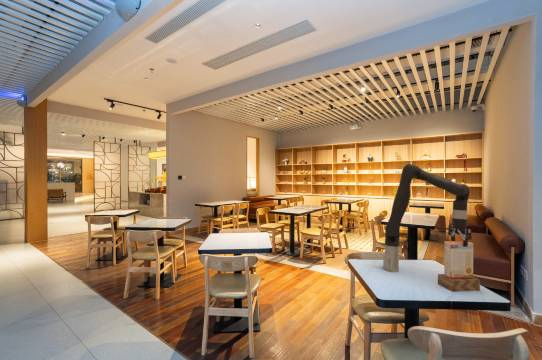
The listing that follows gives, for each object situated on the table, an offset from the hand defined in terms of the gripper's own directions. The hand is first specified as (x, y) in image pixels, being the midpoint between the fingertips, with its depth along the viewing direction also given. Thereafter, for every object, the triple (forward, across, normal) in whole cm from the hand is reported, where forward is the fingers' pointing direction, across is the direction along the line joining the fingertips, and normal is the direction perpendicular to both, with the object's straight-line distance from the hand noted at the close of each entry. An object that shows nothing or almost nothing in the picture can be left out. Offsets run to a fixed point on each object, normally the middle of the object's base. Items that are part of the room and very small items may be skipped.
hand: (459, 244), depth 162 cm
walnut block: (+25, 0, 0) cm, 25 cm away
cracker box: (+19, 0, 0) cm, 19 cm away
